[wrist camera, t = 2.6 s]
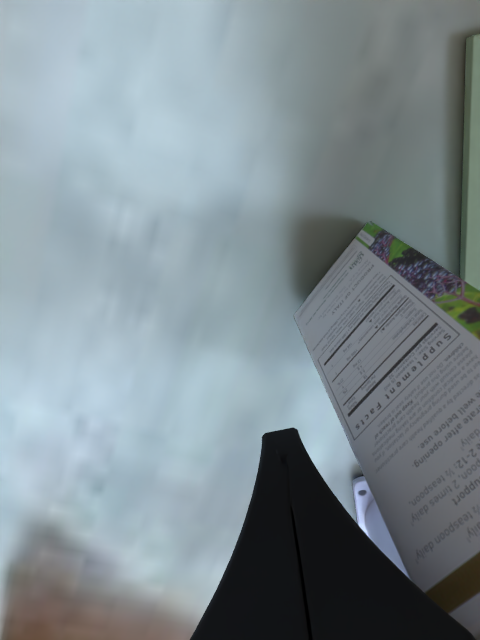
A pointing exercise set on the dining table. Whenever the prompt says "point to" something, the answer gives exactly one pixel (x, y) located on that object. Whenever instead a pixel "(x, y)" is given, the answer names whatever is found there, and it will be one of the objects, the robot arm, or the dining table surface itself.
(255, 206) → the dining table surface
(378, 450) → the syrup box
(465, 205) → the mat
